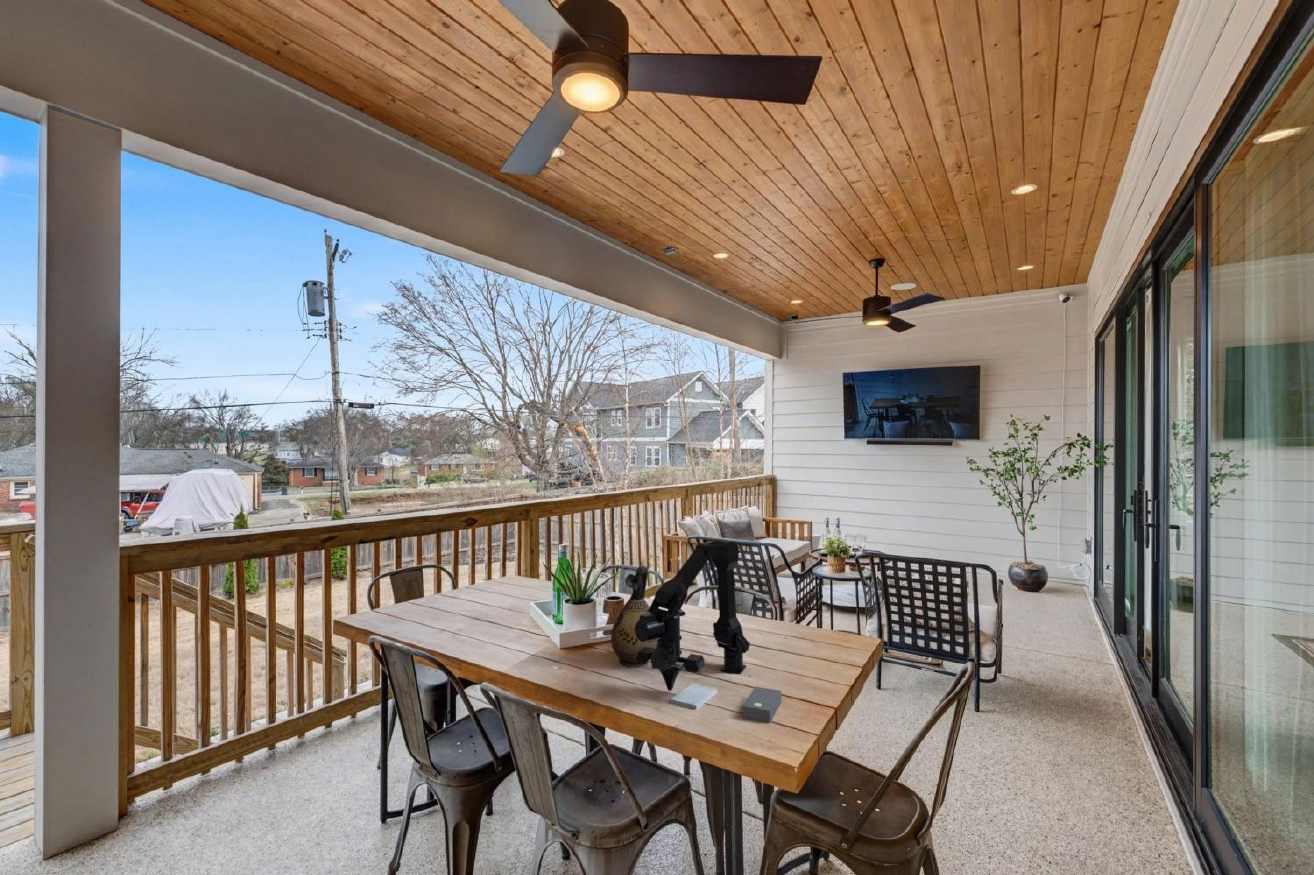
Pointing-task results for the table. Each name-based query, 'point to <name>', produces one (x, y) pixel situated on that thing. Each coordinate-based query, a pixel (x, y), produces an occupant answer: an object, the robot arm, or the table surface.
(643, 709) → the table surface
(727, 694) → the table surface
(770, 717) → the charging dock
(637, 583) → the ceramic jug
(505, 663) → the table surface
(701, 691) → the hard drive
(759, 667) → the table surface
